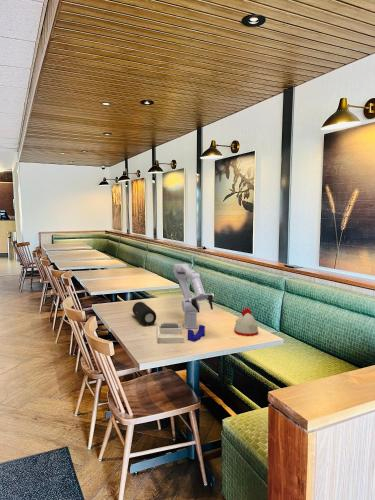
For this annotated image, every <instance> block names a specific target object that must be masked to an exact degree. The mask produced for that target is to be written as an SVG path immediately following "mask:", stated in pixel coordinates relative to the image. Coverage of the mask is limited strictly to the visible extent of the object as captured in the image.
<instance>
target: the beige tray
mask: <svg viewBox="0 0 375 500" xmlns="http://www.w3.org/2000/svg"><path fill="white" fill-rule="evenodd" d="M182 330H183V328H182V325H181V324H178V328H161V325H157V344H183V343H185V337H184V336H161V335H177V334H178V335H179V334H180V335H182V334H183V331H182Z"/></svg>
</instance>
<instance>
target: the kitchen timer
mask: <svg viewBox="0 0 375 500" xmlns="http://www.w3.org/2000/svg"><path fill="white" fill-rule="evenodd" d="M240 312H241V315H239V316H238V318H237V319H236V320H235V324H234V328H233V330H234V331H233V332H234V334H236V335H238V336H241V337H254V336H257V335H258V334H259V330H258V329H259V328H258V324H257V320H256V318H255V317H254V316H253V315H252V313H253V311H252V310H251V308H249V307H245V308H243V309H242V310H241V311H240Z"/></svg>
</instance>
